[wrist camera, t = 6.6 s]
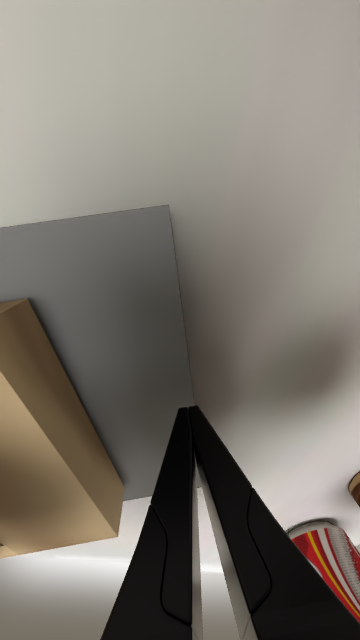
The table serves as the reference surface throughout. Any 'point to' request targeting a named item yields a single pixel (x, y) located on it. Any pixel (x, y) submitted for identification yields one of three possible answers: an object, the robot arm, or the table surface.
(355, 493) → the coffee cup
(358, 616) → the soda can
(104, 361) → the base plate
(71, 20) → the table surface
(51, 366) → the keyhole panel
